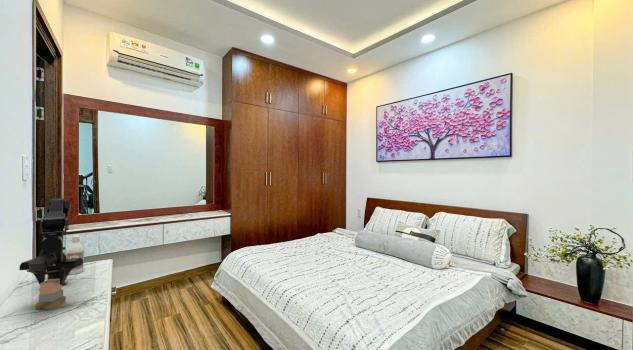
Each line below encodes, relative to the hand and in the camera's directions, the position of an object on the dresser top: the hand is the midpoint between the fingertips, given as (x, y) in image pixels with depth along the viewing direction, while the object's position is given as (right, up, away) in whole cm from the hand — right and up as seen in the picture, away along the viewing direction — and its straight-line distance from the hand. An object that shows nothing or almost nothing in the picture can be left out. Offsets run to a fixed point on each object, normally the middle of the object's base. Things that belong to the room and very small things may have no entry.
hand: (51, 285), depth 106 cm
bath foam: (-24, -9, +36) cm, 44 cm away
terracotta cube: (0, -3, 0) cm, 3 cm away
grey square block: (0, -6, 0) cm, 6 cm away
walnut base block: (0, -9, 0) cm, 9 cm away
